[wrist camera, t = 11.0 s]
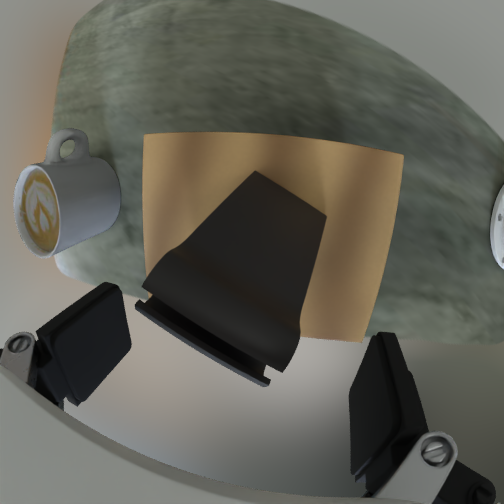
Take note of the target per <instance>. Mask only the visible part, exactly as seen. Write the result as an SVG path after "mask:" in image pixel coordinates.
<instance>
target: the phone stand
mask: <svg viewBox="0 0 504 504" xmlns="http://www.w3.org/2000/svg"><path fill="white" fill-rule="evenodd" d="M326 219H327V216H326V215H325V214H323V213H322V212H320V211H319V210H317V209H316V208H314V207H313V206H311V205H310V204H308V203H307V202H305V201H304V200H302V199H301V198H299V197H297V196H296V195H294V194H293V193H291V192H290V191H288V190H287V189H285V188H283V187H282V186H280V185H279V184H277V183H275V182H274V181H272V180H270V179H269V178H267V177H266V176H264V175H262V174H261V173H259V172H257V171H256V170H255V171H254V172H253V173H252V174H250V175H249V176H248V177H247V178H246V179H245V180H244V181H243V182H242V183H241V184H240V185H239V186H238V187H237V188H236V189H235V190H234V191H233V192H232V193H231V194H230V195H229V196H228V197H227V198H226V199H225V200H224V201H223V202H222V203H221V204H220V205H219V206H218V207H217V208H216V209H215V210H214V211H213V212H212V213H211V214H210V215H209V216H208V217H207V218H206V219H205V220H204V221H203V222H202V223H201V224H200V225H199V226H198V227H197V228H196V229H195V230H194V232H193V233H192V234H191V235H190V236H189V237H188V238H187V239H186V240H185V241H183V242H182V243H181V244H180V245H178V246H177V247H175V248H173V249H171V250H170V251H168V252H167V253H166V254H165V255H164V256H163V257H162V258H161V259H160V260H159V261H158V263H157V264H156V265H155V266H154V268H153V269H152V270H151V272H150V273H149V275H148V276H147V278H146V280H145V281H144V283H143V285H142V287H143V288H144V289H145V290H147V291H148V292H150V293H151V294H152V296H151V297H150V298H149V299H148V300H147V301H146V302H145V303H144V302H142V301H141V300H138V301H137V302H136V304H135V309H136V310H137V311H139V312H140V313H141V314H143V315H144V316H146V317H147V318H148V319H150V320H151V321H153V322H154V323H155V324H157V325H158V326H160V327H162V328H163V329H164V330H166V331H167V332H169V333H170V334H172V335H173V336H175V337H176V338H178V339H180V340H181V341H183V342H184V343H186V344H188V345H189V346H191V347H192V348H194V349H196V350H197V351H199V352H200V353H202V354H204V355H205V356H207V357H209V358H211V359H212V360H214V361H216V362H217V363H219V364H221V365H223V366H224V367H226V368H228V369H230V370H232V371H233V372H235V373H237V374H239V375H241V376H243V377H245V378H247V379H249V380H250V381H252V382H254V383H256V384H258V385H260V386H262V387H267V386H269V384H270V381H271V380H270V379H268V378H267V377H265V376H263V375H264V370H265V367H266V365H268V366H270V367H272V368H274V369H276V370H278V371H280V372H282V373H283V371H284V370H285V368H286V367H287V366H288V364H289V362H290V360H291V359H292V357H293V355H294V353H295V350H296V348H297V346H298V342H299V339H300V334H301V329H300V316H301V311H302V307H303V304H304V300H305V297H306V294H307V290H308V287H309V283H310V280H311V276H312V273H313V269H314V265H315V262H316V258H317V254H318V251H319V247H320V243H321V239H322V235H323V231H324V227H325V223H326Z"/></svg>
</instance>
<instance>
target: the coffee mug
mask: <svg viewBox="0 0 504 504" xmlns="http://www.w3.org/2000/svg"><path fill="white" fill-rule="evenodd" d="M66 140H74V142H75V149H74V151H73V153H72V154H71V155H69V156H68V157H65V158H61V157H60V152H59V151H60V147H61V145H62V144H63V142H65V141H66ZM13 202H14V216H15V221H16V225H17V228H18V231H19V234H20V236H21V238H22V240H23V242H24V244H25V245H26V247H27V248H28V249H29V251H30V252H31V253H33V254H34V255H35V256H37V257H39V258H48V257H51V256H53V255H55V254H57V253H59V252H61V251H63V250H65V249H67V248H69V247H71V246H73V245H75V244H78V243H80V242H82V241H84V240H86V239H88V238H91V237H93V236H95V235H97V234H99V233H102V232H104V231H106V230H107V229H109V228H110V227H111V226H112V225H113V223H114V222H115V220H116V219H117V216H118V213H119V210H120V204H121V191H120V185H119V181H118V178H117V176H116V173H115V172H114V170H113V168H112V167H111V166H110V165H109V164H108V163H107V162H106V161H104V160H103V159H101V158H98V157H90V155H89V145H88V138H87V136H86V134H85V133H84V132H83V131H81V130H78V129H74V128H68V129H62V130H60V131H58V132H56V133H55V134H54V135H53V136H52V137H51V139H50V141H49V143H48V146H47V151H46V158H45V160H44V162H42V163H38V164H32V165H29V166H27V167H26V168H25V169H24V170H23V171H22V172H21V173H20V175H19V177H18V180H17V182H16V186H15V192H14V201H13Z"/></svg>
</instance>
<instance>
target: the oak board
mask: <svg viewBox="0 0 504 504" xmlns="http://www.w3.org/2000/svg"><path fill="white" fill-rule="evenodd" d="M403 160H404V155H402V154H398V153H394V152H389V151H385V150H380V149H375V148H370V147H365V146H360V145H354V144H348V143H342V142H336V141H329V140H321V139H314V138H305V137H296V136H286V135H274V134H260V133H241V132H172V133H152V134H144V145H143V178H142V201H143V234H144V252H145V265H146V277H147V276H148V275H149V273H150V272H151V270H152V269H153V268H154V266H155V265H156V264H157V263H158V261H159V260H160V259H161V258H162V257H163V256H164V255H165V254H166V253H167V252H168V251H170V250H171V249H173V248H175V247H177V246H178V245H180V244H181V243H182V242H183V241H185V240H186V239H187V238H188V237H189V236H190V235H191V234H192V233H193V232H194V230H195V229H196V228H197V227H198V226H199V225H200V224H201V223H202V222H203V221H204V220H205V219H206V218H207V217H208V216H209V215H210V214H211V213H212V212H213V211H214V210H215V209H216V208H217V207H218V206H219V205H220V204H221V203H222V202H223V201H224V200H225V199H226V198H227V197H228V196H229V195H230V194H231V193H232V192H233V191H234V190H235V189H236V188H237V187H238V186H239V185H240V184H241V183H242V182H243V181H244V180H245V179H246V178H247V177H248V176H249V175H250V174H252V173H253V172H254V171H255V170H256V171H257V172H259V173H261V174H262V175H264V176H266V177H267V178H269V179H270V180H272V181H274V182H275V183H277V184H279V185H280V186H282V187H283V188H285V189H287V190H288V191H290V192H291V193H293V194H294V195H296V196H297V197H299V198H301V199H302V200H304V201H305V202H307V203H308V204H310V205H311V206H313V207H314V208H316V209H317V210H319V211H320V212H322V213H323V214H325V215H326V216H327V219H326V223H325V227H324V231H323V235H322V239H321V243H320V247H319V251H318V254H317V258H316V262H315V265H314V269H313V273H312V276H311V280H310V283H309V287H308V290H307V294H306V297H305V300H304V304H303V307H302V311H301V316H300V329H301V334H300V337H308V338H317V339H327V340H337V341H346V342H359V343H362V341H363V338H364V335H365V333H366V330H367V327H368V324H369V321H370V317H371V314H372V311H373V308H374V305H375V301H376V298H377V294H378V291H379V287H380V284H381V280H382V276H383V272H384V268H385V264H386V260H387V256H388V251H389V247H390V242H391V238H392V233H393V228H394V222H395V217H396V211H397V205H398V199H399V192H400V185H401V178H402V169H403ZM148 296H149V298H150V297H151V296H152V294H151V293H150V292H148Z"/></svg>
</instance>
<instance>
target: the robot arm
mask: <svg viewBox="0 0 504 504" xmlns="http://www.w3.org/2000/svg"><path fill="white" fill-rule="evenodd" d="M490 239H491V247H492V251H493V255H494V257H495V259H496V261H497V263H498V264H499V266H501V267H502V268H503V269H504V185H503V187H502V188H501V190H500V192H499V194H498V196H497V198H496V201H495V204H494V208H493V212H492V217H491V226H490ZM36 333H37V336H38V340H37V341H36V340H35V338H34V336H33V335H32V334H31V333H29V332H19V333H16V334H14V335H13V336H11V337H10V338H9V339H8V340H7V341H6V343H5V346H4V348H3V349H0V504H495V503H494V501H495V498H496V491H495V487H494V485H493V484H492V482H491V481H489V480H488V479H486V478H485V477H483V476H481V475H480V474H478V473H476V472H475V471H473V470H471V469H470V468H468V467H467V466H465V465H464V464H462V463H460V462H459V461H457V460H456V457H457V446H456V443H455V442H454V440H453V439H452V437H450V436H449V435H448V434H446V433H444V432H441V431H431V432H429V430H428V426H427V423H426V419H425V415H424V411H423V408H422V404H421V401H420V398H419V395H418V391H417V388H416V385H415V381H414V379H413V375H412V373H411V372H410V371H408V368H407V365H406V362H405V360H404V357H403V354H402V351H401V348H400V345H399V342H398V340H397V337H396V335H395V333H389V332H378V333H377V335H376V336H375V335H373V336H372V337H371V340H370V342H369V345H368V347H367V350H366V353H365V355H364V358H363V360H362V363H361V365H360V367H359V370H358V372H357V375H356V377H355V379H354V382H353V384H352V386H351V388H350V392H349V412H350V438H351V439H350V440H351V474H352V475H355V482H366V489H367V491H366V492H365V493H364V494H363V495H362V496H361V497H360V498H343V497H315V496H301V495H292V494H284V493H277V492H270V491H264V490H258V489H252V488H246V487H242V486H237V485H233V484H229V483H224V482H220V481H217V480H213V479H209V478H206V477H202V476H199V475H196V474H193V473H190V472H187V471H184V470H181V469H178V468H175V467H172V466H170V465H167V464H164V463H162V462H159V461H157V460H154V459H152V458H149V457H147V456H145V455H142V454H140V453H138V452H136V451H133V450H131V449H129V448H127V447H125V446H123V445H121V444H119V443H117V442H115V441H113V440H111V439H109V438H107V437H106V436H104V435H102V434H100V433H98V432H97V431H95V430H93V429H91V428H90V427H88V426H86V425H85V424H83V423H81V422H80V421H78V420H77V419H75V418H73V417H72V416H70V415H69V414H67V413H66V412H64V400H63V399H64V398H65V397H67V399H68V401H69V402H71V403H73V404H74V405H76V406H78V405H79V404H80V403H81V402H83V401H85V400H86V399H87V398H88V397H89V396H90V395H91V394H92V393H93V391H94V390H95V389H96V388H97V387H98V386H99V385H100V383H101V382H102V381H103V380H104V379H105V378H106V377H107V375H108V374H109V373H110V372H111V371H112V370H113V369H114V367H115V366H116V365H117V364H118V363H119V362H120V361H121V360H122V358H123V357H124V356H125V355H126V354H127V353H128V352H129V350H130V349H131V345H132V344H131V338H130V333H129V328H128V323H127V318H126V313H125V307H124V301H123V295H122V291H121V290H120V288H119V286H118V285H116V284H112V283H108V282H104V283H102V284H100V285H99V286H97V287H96V288H95V289H93V290H92V291H90V292H89V293H87V294H86V295H85V296H83V297H82V298H81V299H79V300H78V301H76V302H75V303H73V304H72V305H70V306H69V307H68V308H66V309H65V310H64V311H62V312H61V313H59V314H58V315H57V316H55V317H54V318H53V319H51V320H50V321H49V322H47V323H46V324H45V325H43V326H42V327H41V328H39V329H38V330H37V331H36ZM496 504H501V503H500V502H498V503H496Z"/></svg>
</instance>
